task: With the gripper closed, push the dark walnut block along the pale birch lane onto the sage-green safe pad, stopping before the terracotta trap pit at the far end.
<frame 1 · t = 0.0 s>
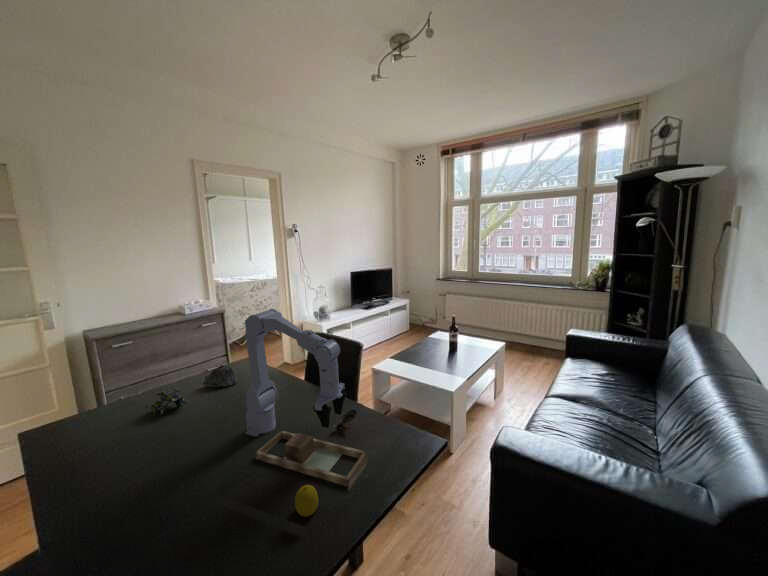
hand: (331, 419, 102), 10 cm above the table, tool pointing down, fingers open, 7 cm apart
lemon: (307, 515, 80), on the table
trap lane: (311, 462, 98), on the table
mineral rock: (222, 385, 152), on the table
passion flower: (168, 412, 130), on the table
eagle figurine: (346, 430, 114), on the table
walnut block: (300, 455, 99), point 1 cm above the table, touching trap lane
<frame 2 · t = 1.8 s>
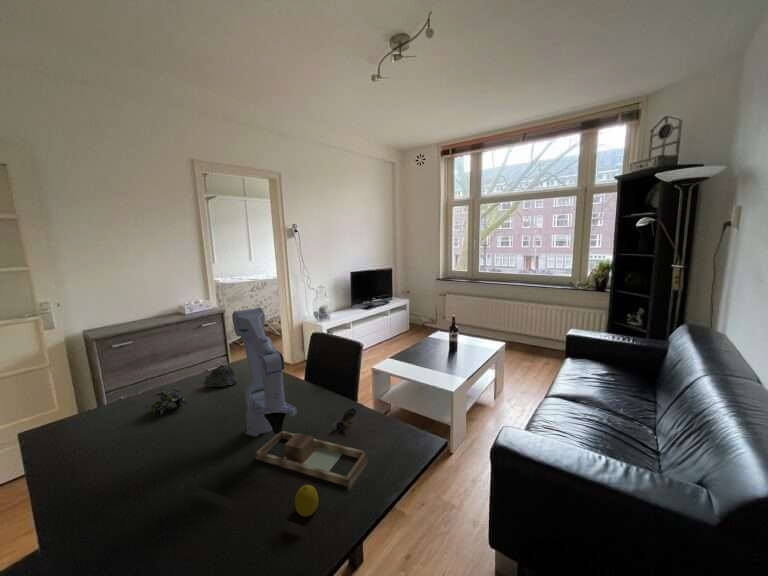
hand: (277, 432, 101), 8 cm above the table, tool pointing down, fingers closed
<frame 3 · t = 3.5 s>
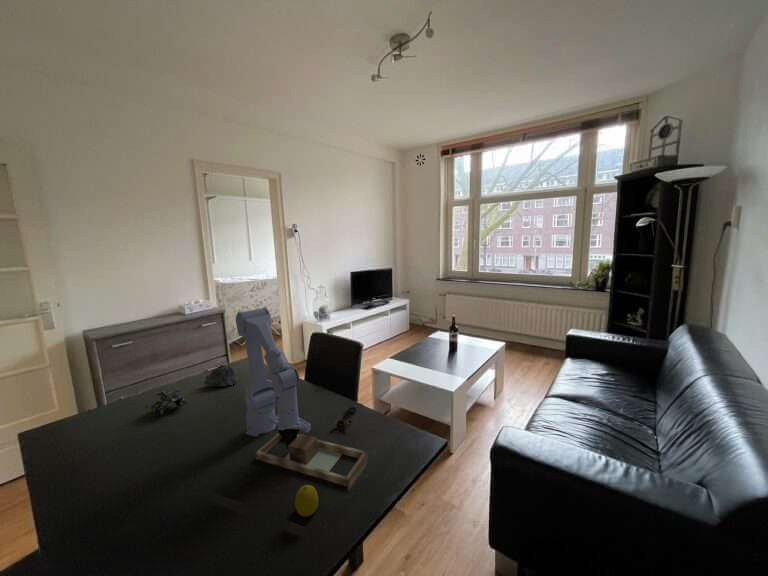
hand: (291, 447, 100), 3 cm above the table, tool pointing down, fingers closed
walnut block: (304, 456, 99), point 1 cm above the table, touching gripper, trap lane
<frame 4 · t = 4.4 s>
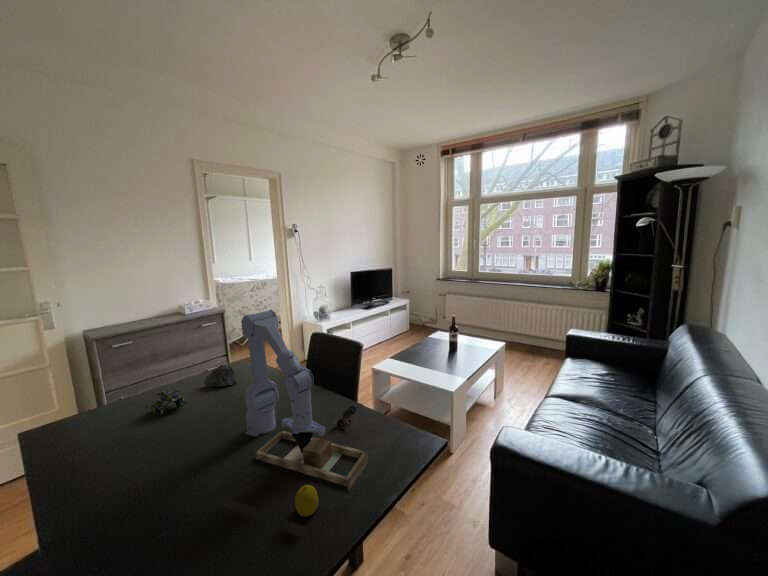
hand: (305, 451, 98), 3 cm above the table, tool pointing down, fingers closed
walnut block: (318, 460, 97), point 2 cm above the table, touching gripper
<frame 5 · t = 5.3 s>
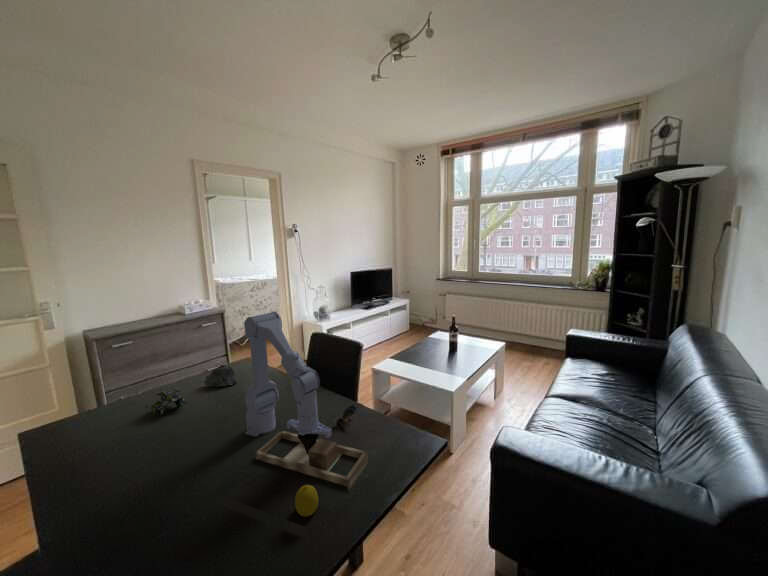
hand: (310, 453, 97), 3 cm above the table, tool pointing down, fingers closed
walnut block: (323, 461, 96), point 1 cm above the table, touching gripper, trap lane
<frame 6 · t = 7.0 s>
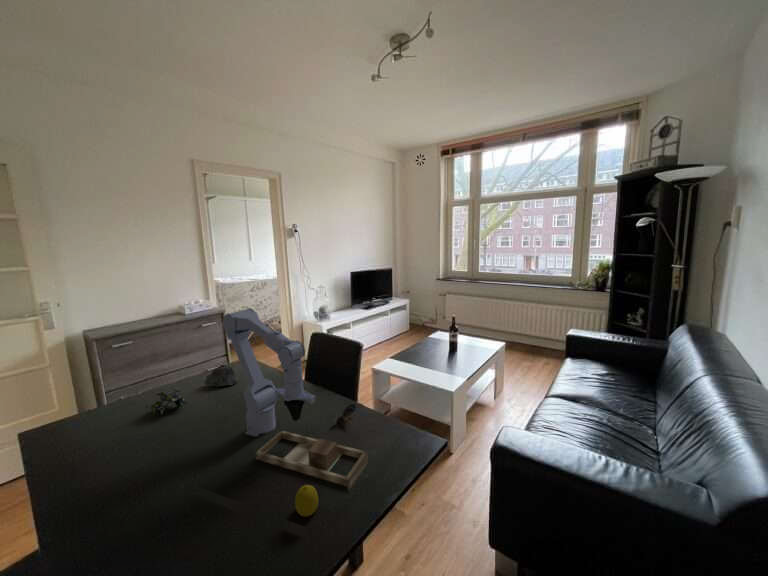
hand: (296, 419, 105), 9 cm above the table, tool pointing down, fingers closed
walnut block: (323, 461, 96), point 1 cm above the table, touching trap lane
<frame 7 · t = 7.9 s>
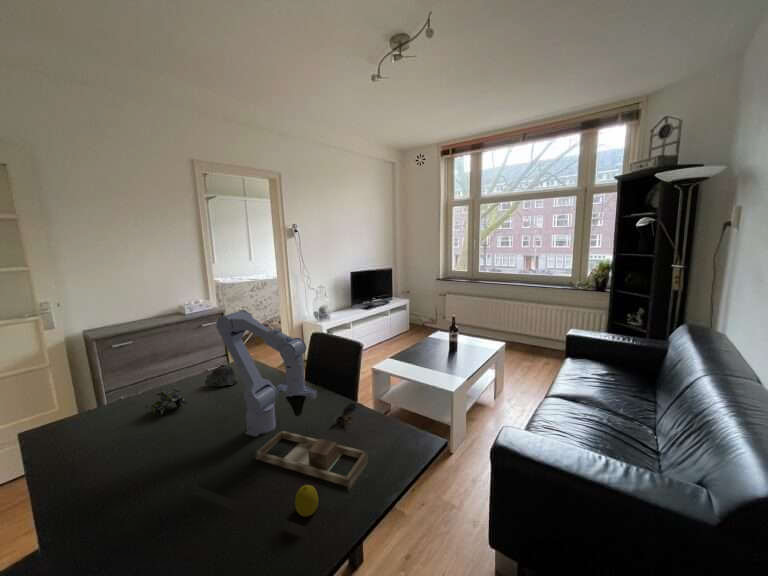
hand: (298, 414, 107), 9 cm above the table, tool pointing down, fingers closed
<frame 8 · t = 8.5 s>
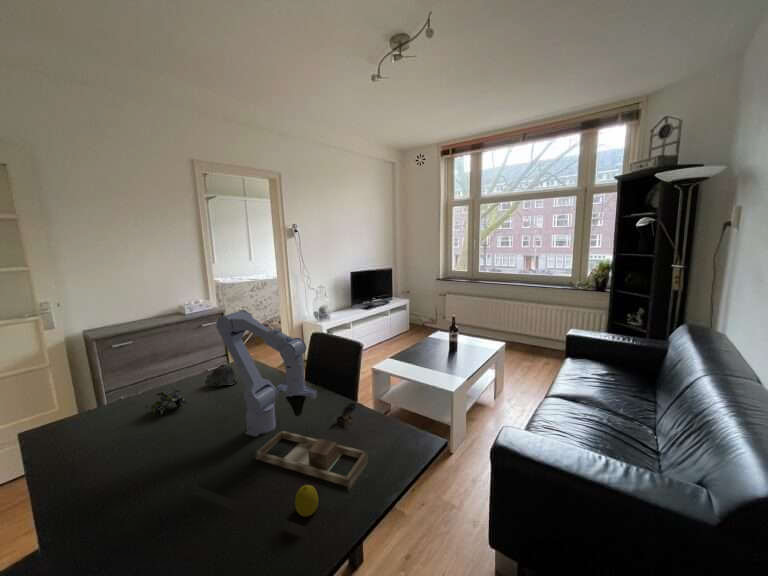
hand: (298, 414, 107), 9 cm above the table, tool pointing down, fingers closed
at the end: walnut block 0.0 cm from the target spot, point 1.5 cm above the table; walnut block tilted 0° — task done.
